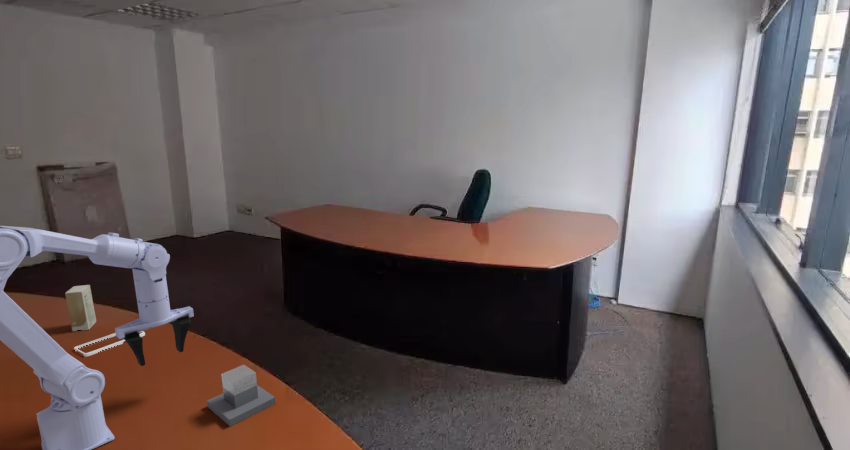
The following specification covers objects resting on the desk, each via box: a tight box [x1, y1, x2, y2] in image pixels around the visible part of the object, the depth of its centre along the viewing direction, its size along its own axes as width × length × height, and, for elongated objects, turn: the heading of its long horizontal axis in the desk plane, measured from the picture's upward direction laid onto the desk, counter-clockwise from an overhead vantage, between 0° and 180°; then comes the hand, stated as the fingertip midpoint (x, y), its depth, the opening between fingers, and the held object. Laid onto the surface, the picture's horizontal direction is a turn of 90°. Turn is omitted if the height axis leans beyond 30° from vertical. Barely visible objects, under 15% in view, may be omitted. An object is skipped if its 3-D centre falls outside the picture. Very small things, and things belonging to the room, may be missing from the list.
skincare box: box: [64, 284, 97, 332], centre depth 134 cm, size 6×4×12 cm
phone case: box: [73, 330, 146, 358], centre depth 125 cm, size 7×1×15 cm
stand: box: [206, 384, 277, 427], centre depth 96 cm, size 10×10×2 cm
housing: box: [220, 364, 258, 409], centre depth 95 cm, size 5×5×6 cm
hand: (161, 357), depth 97 cm, fingers open, 7 cm apart
